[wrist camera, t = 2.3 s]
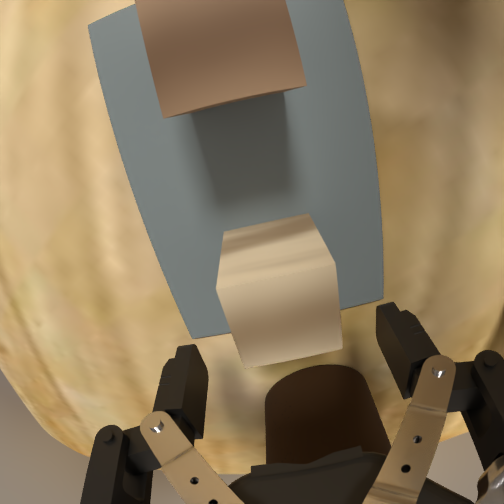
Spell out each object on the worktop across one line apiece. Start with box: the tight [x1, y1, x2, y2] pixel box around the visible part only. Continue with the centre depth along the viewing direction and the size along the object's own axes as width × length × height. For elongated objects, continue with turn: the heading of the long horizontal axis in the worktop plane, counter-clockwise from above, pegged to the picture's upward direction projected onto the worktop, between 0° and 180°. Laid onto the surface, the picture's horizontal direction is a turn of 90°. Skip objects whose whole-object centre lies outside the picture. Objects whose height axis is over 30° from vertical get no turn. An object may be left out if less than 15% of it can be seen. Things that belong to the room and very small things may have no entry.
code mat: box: [88, 0, 384, 339], centre depth 17 cm, size 22×14×1 cm, turn 13°
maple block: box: [216, 213, 343, 369], centre depth 17 cm, size 5×5×6 cm
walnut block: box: [135, 0, 307, 119], centre depth 11 cm, size 5×5×6 cm
